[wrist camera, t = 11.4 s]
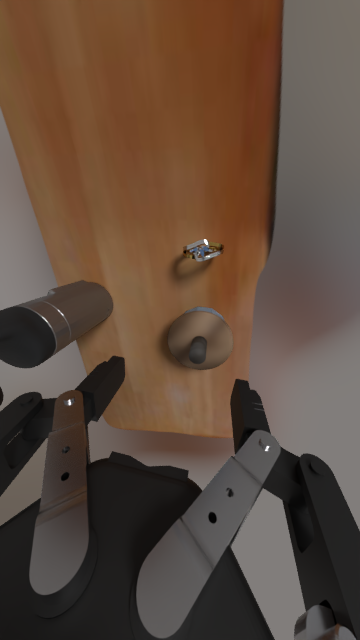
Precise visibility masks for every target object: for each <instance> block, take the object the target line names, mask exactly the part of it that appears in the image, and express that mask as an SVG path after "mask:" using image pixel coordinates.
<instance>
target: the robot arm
mask: <svg viewBox="0 0 360 640" xmlns="http://www.w3.org/2000/svg"><path fill="white" fill-rule="evenodd" d="M112 309H113V302H112V298H111V296H110V294H109V293H108V291H107V290H106V289H105V288H104V287H102V286H101V285H99V284H97V283H93V282H85V281H84V280H81V281H78V282H75V283H71V284H68V285H64V286H61V287H57V288H54V289H51V290H49V292H48V295H47V296H44V297H41V298H38V299H35V300H32V301H29V302H26V303H22V304H19V305H16V306H13V307H10V308H6V309H4V310H1V311H0V359H1V360H3V361H4V362H6V363H8V364H10V365H12V366H15V367H19V368H32V367H35V366H38V365H40V364H41V363H43V362H44V361H46V360H47V359H49V358H50V357H51V356H53V355H54V354H56V353H57V352H59V351H60V350H61V349H63V348H64V347H66V346H67V345H69V344H70V343H71V342H73V341H74V340H76V339H77V338H79V337H80V336H81V335H83V334H84V333H86V332H87V331H89V330H90V329H91V328H93V327H94V326H96V325H97V324H99V323H100V322H102V321H103V320H105V319H106V318H107V317H108V316H109V315H110V314H111V312H112ZM124 378H125V360H124V358H123V357H118V356H112V357H111V358H110V360H109V361H108V362H106V361H104V362H103V363H101V364H99V365H98V366H97V367H96V368H95V369H94V370H93V371H92V372H91V373H90V374H89V375H88V376H87V377H86V378H85V379H84V380H83V381H82V382H81V383H80V385H79V386H78V387H77V388H76V389H75V390H71V391H67V392H65V393H63V394H61V395H60V396H59V397H58V398H50V399H42V396H41V394H40V393H38V392H29V393H26V394H23V395H21V396H19V397H17V398H16V399H15V400H13V401H12V402H11V403H10V404H9V405H8V406H6V407H5V408H4V409H3V410H2V411H0V496H1V495H2V494H3V492H4V491H5V490H6V489H7V487H8V486H9V485H10V484H11V482H12V481H13V480H14V479H15V477H16V476H17V475H18V473H19V472H20V471H21V470H22V468H23V467H24V466H25V464H26V463H27V462H28V461H29V459H30V458H31V457H32V456H33V454H34V453H35V452H36V451H37V449H38V448H39V447H40V446H41V444H42V443H43V442H44V440H45V439H46V438H48V443H47V451H46V460H45V469H44V477H43V485H42V494H41V498H40V499H38V500H37V501H35V502H34V503H32V504H31V505H30V506H28V507H27V508H25V509H24V510H22V511H21V512H20V513H18V514H17V515H15V516H14V517H13V518H11V519H10V520H8V521H7V522H5V523H4V524H3V525H1V526H0V640H275V639H274V637H273V635H272V633H271V631H270V629H269V627H268V625H267V623H266V620H265V618H264V616H263V614H262V612H261V610H260V608H259V606H258V604H257V602H256V599H255V598H254V595H253V593H252V591H251V589H250V587H249V585H248V583H247V580H246V578H245V576H244V574H243V572H242V570H241V568H240V566H239V564H238V561H237V559H236V557H235V555H234V553H233V551H232V549H231V546H232V544H233V542H234V540H235V538H236V537H237V534H238V533H239V531H240V529H241V527H242V525H243V523H244V522H245V520H246V518H247V516H248V514H249V512H250V510H251V509H252V507H253V505H254V503H255V501H256V500H257V498H258V496H259V494H260V492H261V491H262V489H263V488H264V489H266V490H267V491H269V492H270V493H272V494H274V495H276V496H277V497H279V498H280V499H282V500H283V505H284V509H285V514H286V519H287V524H288V529H289V533H290V538H291V543H292V547H293V552H294V557H295V562H296V566H297V571H298V576H299V581H300V585H301V590H302V595H303V599H304V604H305V609H306V612H305V613H304V614H302V615H301V616H300V617H299V618H298V619H297V621H296V624H295V629H294V640H360V531H359V529H358V526H357V524H356V522H355V520H354V518H353V516H352V513H351V511H350V509H349V507H348V505H347V502H346V500H345V499H344V496H343V494H342V491H341V489H340V487H339V485H338V483H337V481H336V478H335V476H334V474H333V472H332V471H331V469H330V468H329V466H328V465H327V464H326V463H325V462H324V461H322V460H321V459H320V458H318V457H316V456H314V455H311V454H303V455H301V457H298V456H296V455H294V454H292V453H290V452H288V451H286V450H285V449H283V448H282V447H281V446H280V445H279V443H278V441H277V440H276V438H275V437H274V436H272V435H271V433H270V429H269V425H268V422H267V418H266V415H265V412H264V408H263V405H262V401H261V398H260V396H259V395H258V393H257V392H256V391H255V390H250V388H249V383H248V381H245V380H240V379H236V380H235V384H234V387H233V391H232V395H231V402H230V406H231V417H232V427H233V438H234V449H235V456H234V457H233V456H231V457H230V458H229V459H228V460H227V462H226V463H225V464H224V465H223V467H222V468H221V469H220V470H219V471H218V473H217V474H216V475H215V476H214V478H213V479H212V480H211V481H210V483H209V484H208V485H207V486H206V488H205V489H204V490H203V491H202V490H201V488H200V487H199V486H198V485H197V484H196V483H195V482H193V481H192V480H190V479H189V478H188V470H184V469H180V468H176V467H172V466H152V467H149V466H146V465H144V464H142V463H141V462H139V461H137V460H136V459H134V458H133V457H131V456H129V455H125V454H121V453H117V452H113V451H112V453H111V455H110V457H109V458H105V459H100V460H97V461H95V462H92V463H91V461H90V451H89V439H88V438H89V437H88V426H87V425H88V423H89V422H90V421H91V420H92V421H96V422H97V421H98V420H99V418H100V416H101V415H102V414H103V412H104V410H105V409H106V407H107V406H108V404H109V403H110V401H111V400H112V398H113V397H114V395H115V394H116V392H117V391H118V389H119V388H120V386H121V384H122V383H123V381H124ZM2 401H3V392H2V389H1V387H0V405H1V404H2ZM19 431H20V432H19ZM17 434H18V435H17ZM15 436H16V437H15ZM12 439H13V440H12ZM11 440H12V441H11ZM10 441H11V442H10ZM9 442H10V443H9ZM8 443H9V444H8ZM7 444H8V445H7Z"/></svg>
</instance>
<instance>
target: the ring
mask: <svg viewBox="0 0 360 640" xmlns="http://www.w3.org/2000/svg"><path fill="white" fill-rule="evenodd" d="M204 244H205V245H206V246H201V247H200V245H204ZM223 249H224V245H222V244H219V243H214V242H209V241H207V240H200V241H197V242H195V243H193V244H190V245H188V246H185V247H183V250H184V251H183V255H184V256H185V257H188V258H192V259H195V260H196V261H205V260H207V259H210V258H212V257H215V256H217V255H220V254H223V251H224V250H223ZM189 252H194V253H193V254H191V253H189ZM204 252H212V253H209V254H207V255H204ZM200 254H201V255H202V257H198V256H200Z"/></svg>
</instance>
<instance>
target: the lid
mask: <svg viewBox="0 0 360 640" xmlns="http://www.w3.org/2000/svg"><path fill="white" fill-rule="evenodd" d="M168 346H169V349H170V351H171V353H172V355H173V356H174V357H175V358H176V359H177V360H178V361H179V362H180V363H181V364H183V365H185V366H187V367H189V368H193V369H198V370H207V369H212V368H215V367H217V366H219V365H221V364H222V363H224V362H225V361H226V360H227V359H228V357H229V356H230V354H231V352H232V349H233V336H232V332H231V330H230V328H229V326H228V324H227V323H226V322H225V321H224V320H223V319H222V318H221V317H219V316H217V315H215V314H213V313H211V312H207V311H191V312H188V313H185V314H183V315H181V316H180V317H178V318H177V319H176V320H175V321H174V323H173V324H172V326H171V328H170V330H169V333H168Z"/></svg>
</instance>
